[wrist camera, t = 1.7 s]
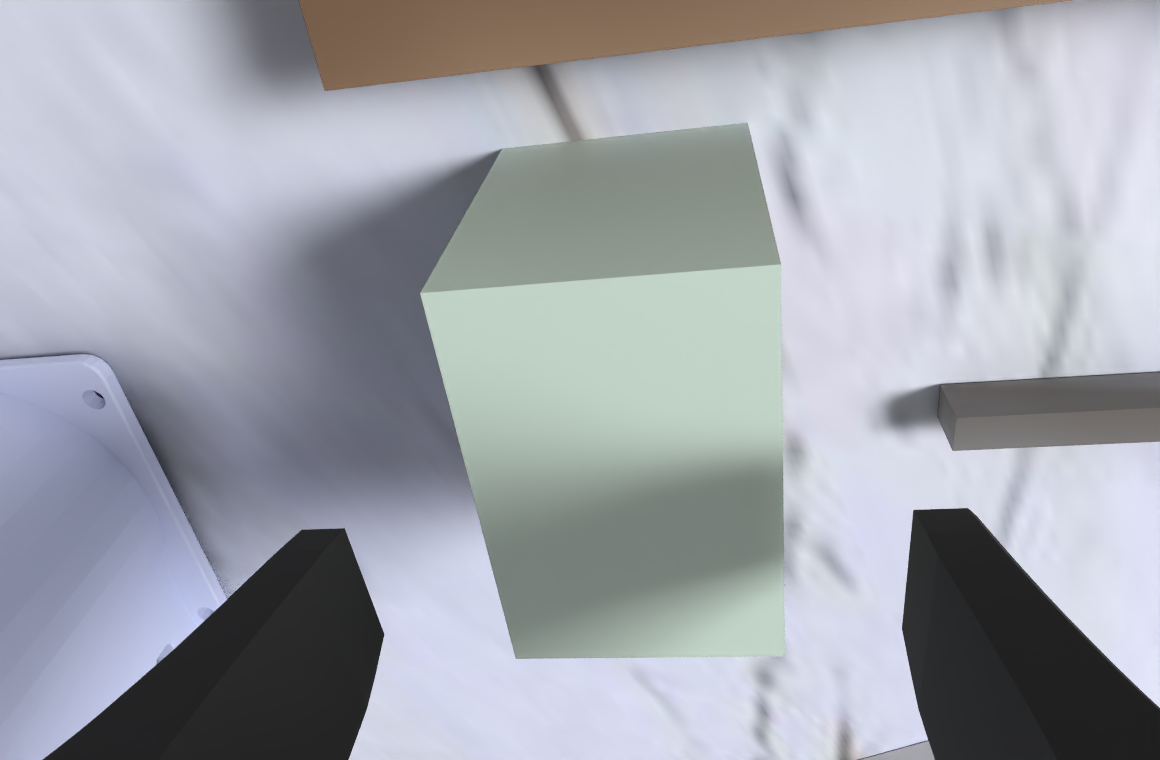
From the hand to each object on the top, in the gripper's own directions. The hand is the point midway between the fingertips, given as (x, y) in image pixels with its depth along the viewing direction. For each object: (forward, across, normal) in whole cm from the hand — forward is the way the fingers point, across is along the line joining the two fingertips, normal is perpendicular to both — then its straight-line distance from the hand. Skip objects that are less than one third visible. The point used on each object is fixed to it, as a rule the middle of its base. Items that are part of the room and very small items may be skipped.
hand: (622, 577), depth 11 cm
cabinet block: (+8, 0, 0) cm, 8 cm away
